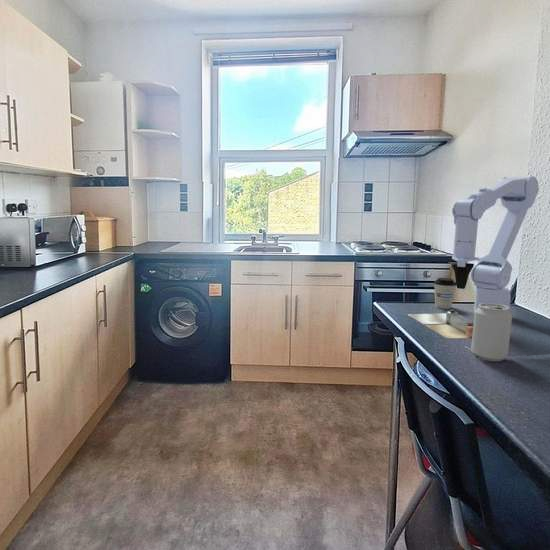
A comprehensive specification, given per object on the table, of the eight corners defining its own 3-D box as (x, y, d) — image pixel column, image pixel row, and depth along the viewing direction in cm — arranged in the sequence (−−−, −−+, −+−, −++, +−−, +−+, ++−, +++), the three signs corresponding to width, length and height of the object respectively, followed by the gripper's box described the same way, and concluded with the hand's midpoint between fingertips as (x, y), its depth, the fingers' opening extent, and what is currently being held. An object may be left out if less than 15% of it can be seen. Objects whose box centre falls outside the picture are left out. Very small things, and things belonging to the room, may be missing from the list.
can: (511, 364, 94) (518, 310, 92) (475, 361, 96) (480, 308, 94) (501, 352, 102) (506, 302, 99) (467, 349, 103) (472, 300, 101)
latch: (443, 321, 123) (444, 310, 122) (453, 321, 123) (454, 310, 123) (465, 333, 112) (466, 321, 111) (476, 333, 112) (477, 321, 112)
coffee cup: (432, 305, 146) (434, 276, 144) (454, 308, 143) (457, 278, 141) (430, 310, 140) (432, 279, 138) (453, 313, 137) (456, 281, 135)
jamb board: (453, 315, 133) (454, 300, 132) (501, 339, 111) (503, 321, 110) (406, 316, 131) (408, 301, 130) (446, 341, 109) (448, 323, 108)
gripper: (479, 244, 115) (474, 294, 117) (481, 240, 128) (477, 285, 130) (451, 242, 118) (446, 291, 120) (455, 238, 131) (452, 283, 133)
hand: (460, 288), depth 125 cm, fingers closed
